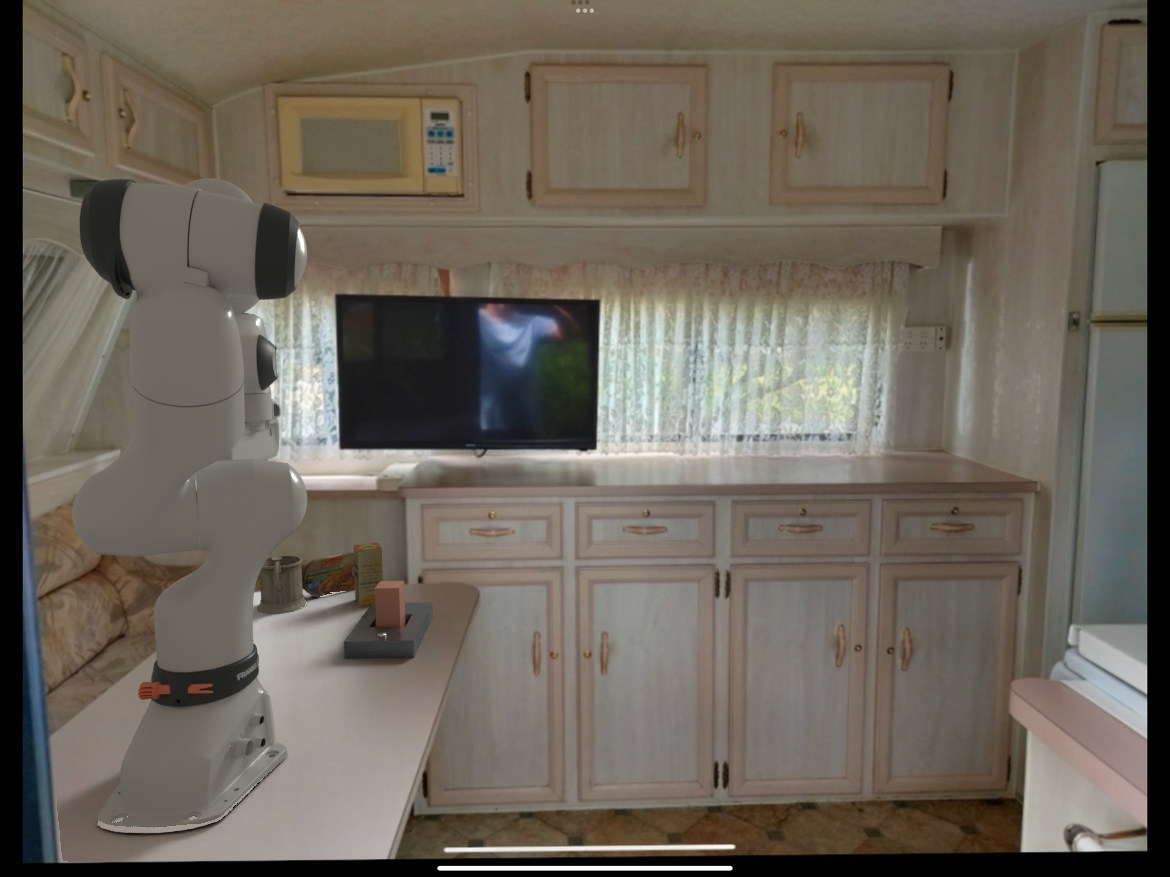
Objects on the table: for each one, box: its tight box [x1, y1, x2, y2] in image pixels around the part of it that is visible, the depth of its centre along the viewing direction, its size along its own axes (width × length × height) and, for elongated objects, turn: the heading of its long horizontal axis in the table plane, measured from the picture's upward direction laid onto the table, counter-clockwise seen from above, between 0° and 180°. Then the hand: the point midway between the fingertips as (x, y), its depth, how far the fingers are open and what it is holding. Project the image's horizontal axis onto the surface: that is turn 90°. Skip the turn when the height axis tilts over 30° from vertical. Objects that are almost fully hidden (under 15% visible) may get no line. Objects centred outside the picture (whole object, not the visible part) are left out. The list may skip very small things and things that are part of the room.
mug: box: [256, 555, 308, 615], centre depth 153 cm, size 14×10×12 cm
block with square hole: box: [343, 601, 434, 659], centre depth 139 cm, size 20×12×3 cm, turn 2°
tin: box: [302, 552, 355, 598], centre depth 164 cm, size 15×3×8 cm, turn 133°
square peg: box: [375, 580, 406, 627], centre depth 138 cm, size 4×4×10 cm
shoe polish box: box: [353, 542, 384, 608], centre depth 158 cm, size 5×5×12 cm
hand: (248, 490), depth 128 cm, fingers open, 8 cm apart
